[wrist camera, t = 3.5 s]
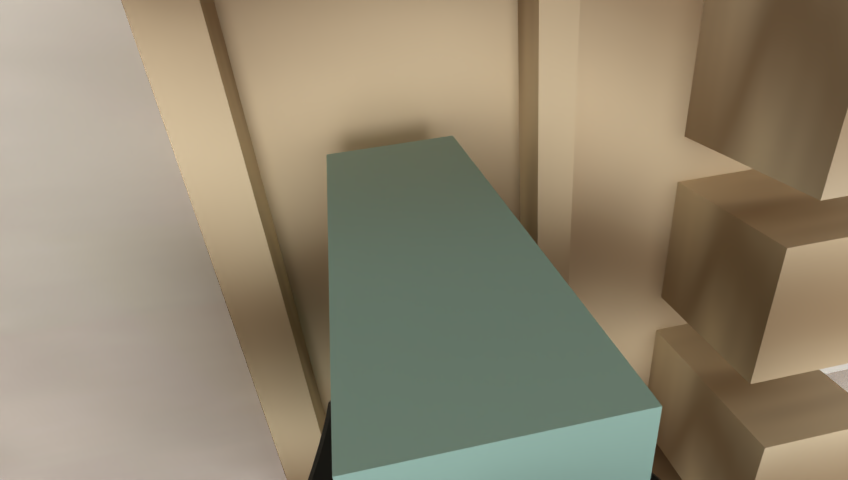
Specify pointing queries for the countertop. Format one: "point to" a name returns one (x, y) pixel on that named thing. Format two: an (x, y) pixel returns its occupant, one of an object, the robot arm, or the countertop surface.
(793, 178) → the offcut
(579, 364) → the board
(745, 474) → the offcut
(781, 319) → the block
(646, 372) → the rack
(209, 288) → the countertop surface
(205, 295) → the countertop surface
